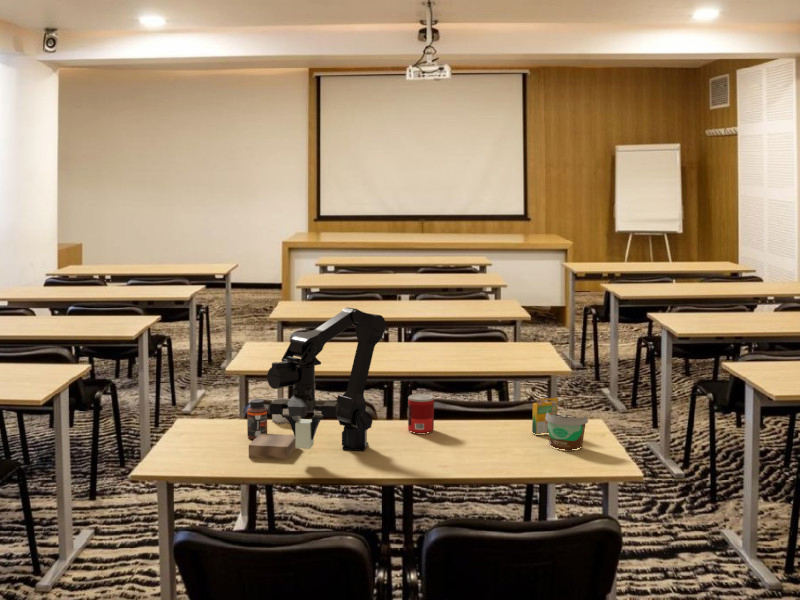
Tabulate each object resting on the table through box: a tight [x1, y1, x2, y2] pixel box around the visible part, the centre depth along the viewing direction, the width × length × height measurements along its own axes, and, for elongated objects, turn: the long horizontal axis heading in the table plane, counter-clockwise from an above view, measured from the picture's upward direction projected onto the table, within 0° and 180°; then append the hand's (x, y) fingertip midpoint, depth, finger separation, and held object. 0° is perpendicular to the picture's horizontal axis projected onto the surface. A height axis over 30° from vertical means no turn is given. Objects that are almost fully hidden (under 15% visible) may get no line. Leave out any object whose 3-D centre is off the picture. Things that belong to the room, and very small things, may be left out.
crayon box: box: [531, 397, 559, 434], centre depth 240 cm, size 7×3×12 cm, turn 108°
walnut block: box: [248, 433, 298, 461], centre depth 222 cm, size 11×11×4 cm
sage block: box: [295, 418, 315, 450], centre depth 212 cm, size 4×4×7 cm
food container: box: [545, 411, 589, 450], centre depth 226 cm, size 12×6×10 cm, turn 70°
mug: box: [271, 398, 302, 425], centre depth 253 cm, size 10×7×7 cm, turn 77°
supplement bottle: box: [246, 398, 268, 440], centre depth 235 cm, size 6×6×11 cm
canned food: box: [407, 393, 435, 433], centre depth 242 cm, size 8×8×11 cm
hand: (304, 438), depth 213 cm, fingers closed on sage block, 4 cm apart
